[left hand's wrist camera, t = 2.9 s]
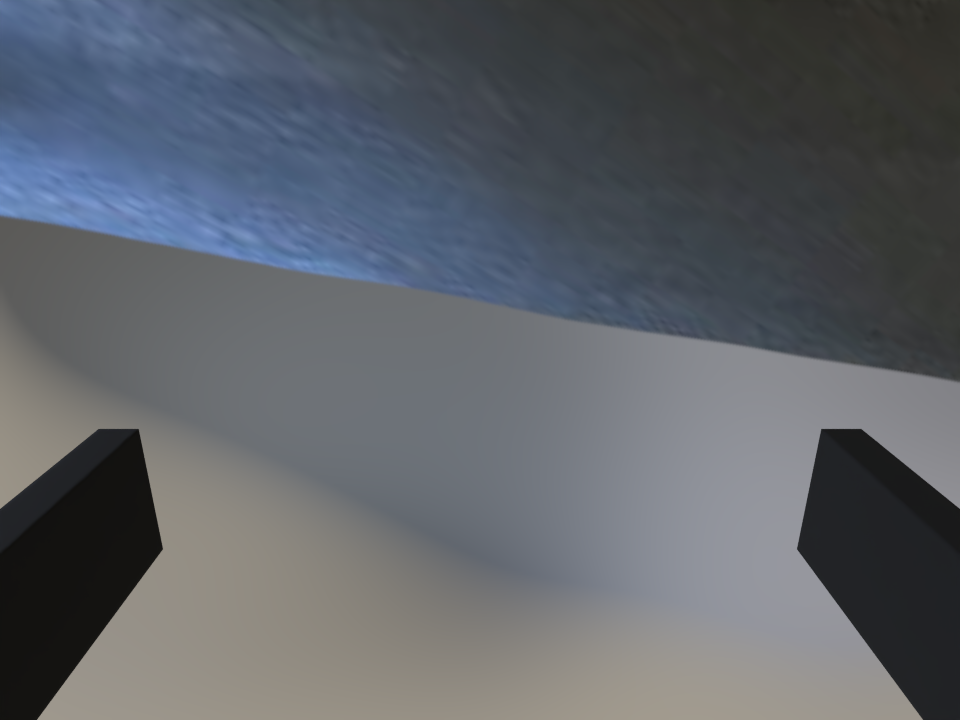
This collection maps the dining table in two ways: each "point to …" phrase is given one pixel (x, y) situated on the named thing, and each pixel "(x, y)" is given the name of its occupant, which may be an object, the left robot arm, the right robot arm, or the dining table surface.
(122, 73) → the dining table surface
